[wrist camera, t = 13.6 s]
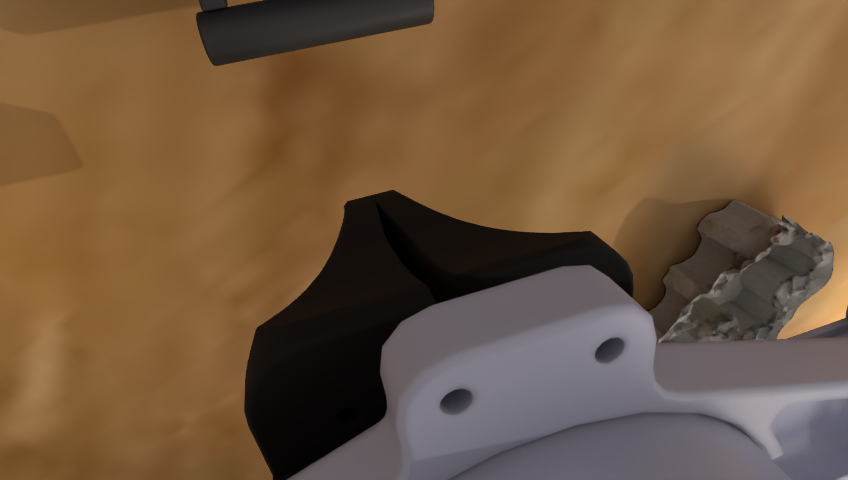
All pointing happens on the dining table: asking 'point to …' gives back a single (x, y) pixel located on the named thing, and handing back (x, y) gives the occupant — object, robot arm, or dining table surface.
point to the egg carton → (742, 278)
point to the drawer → (299, 24)
